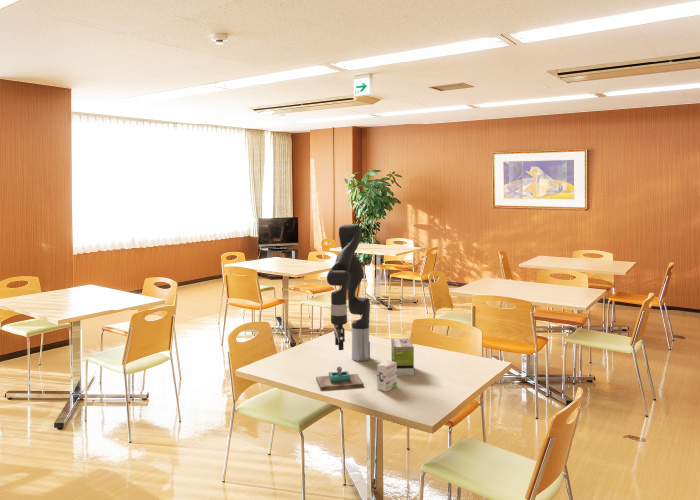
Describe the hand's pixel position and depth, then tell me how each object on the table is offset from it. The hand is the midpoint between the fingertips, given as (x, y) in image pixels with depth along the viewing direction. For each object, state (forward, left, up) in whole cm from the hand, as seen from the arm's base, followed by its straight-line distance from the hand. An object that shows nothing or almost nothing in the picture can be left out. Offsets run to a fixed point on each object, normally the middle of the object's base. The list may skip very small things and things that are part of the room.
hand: (339, 347), depth 253 cm
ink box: (-20, +11, -17) cm, 29 cm away
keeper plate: (0, 0, -17) cm, 17 cm away
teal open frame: (0, 0, -16) cm, 16 cm away
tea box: (-34, -11, -18) cm, 40 cm away
